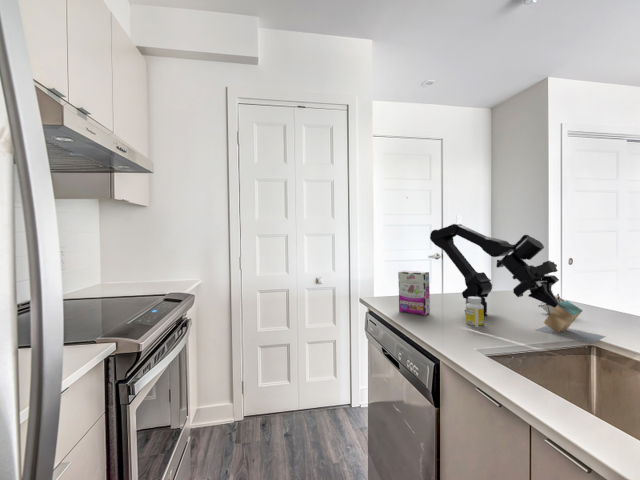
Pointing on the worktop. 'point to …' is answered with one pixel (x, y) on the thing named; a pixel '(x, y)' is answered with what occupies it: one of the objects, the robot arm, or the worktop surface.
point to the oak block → (562, 316)
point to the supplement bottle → (474, 312)
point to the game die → (550, 308)
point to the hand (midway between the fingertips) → (558, 307)
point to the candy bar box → (414, 292)
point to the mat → (574, 334)
